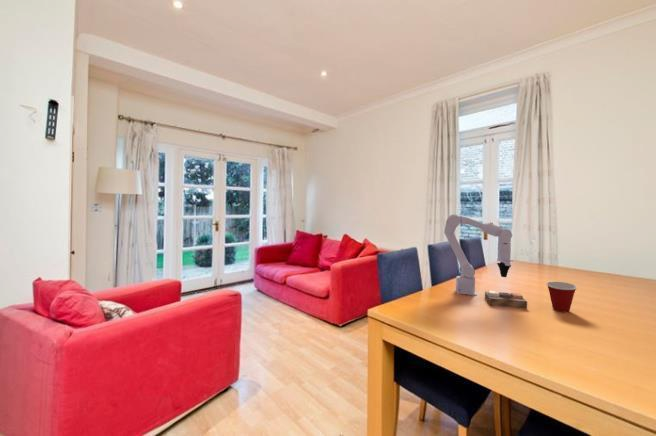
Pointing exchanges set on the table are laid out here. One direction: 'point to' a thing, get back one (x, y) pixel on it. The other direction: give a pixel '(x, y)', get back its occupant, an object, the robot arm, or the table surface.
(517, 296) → the terracotta key
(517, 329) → the table surface
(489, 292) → the ivory key
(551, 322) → the table surface
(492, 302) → the key box
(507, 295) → the charcoal key
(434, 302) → the table surface
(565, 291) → the plastic cup
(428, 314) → the table surface
